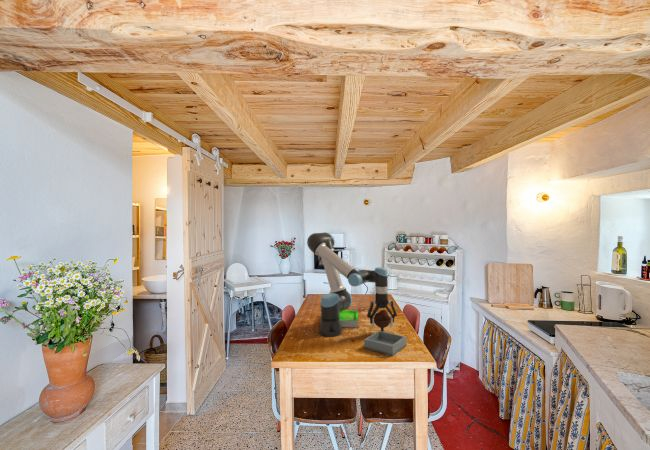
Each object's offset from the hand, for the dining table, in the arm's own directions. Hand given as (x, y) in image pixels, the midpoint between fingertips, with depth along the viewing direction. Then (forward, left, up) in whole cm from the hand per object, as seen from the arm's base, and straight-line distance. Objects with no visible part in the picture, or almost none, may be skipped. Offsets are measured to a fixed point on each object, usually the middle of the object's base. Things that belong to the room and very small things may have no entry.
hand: (382, 328), depth 192 cm
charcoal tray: (+11, -17, -4) cm, 21 cm away
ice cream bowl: (0, 0, -4) cm, 4 cm away
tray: (-36, +6, -4) cm, 37 cm away
